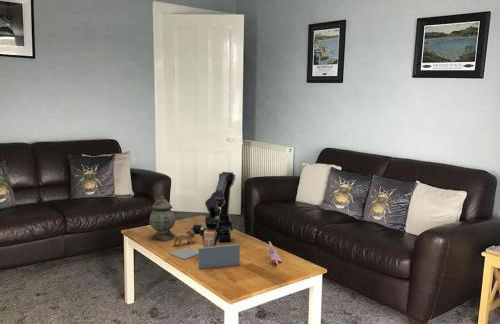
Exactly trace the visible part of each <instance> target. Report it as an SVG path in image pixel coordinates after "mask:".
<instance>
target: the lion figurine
mask: <svg viewBox="0 0 500 324" xmlns="http://www.w3.org/2000/svg"><path fill="white" fill-rule="evenodd" d="M175 236H176V237H175V239H174V242H173V245H172V246H173V247H175V246H177V244H176V243H177V242H178V245H179V246H180V247H184V245H183V244H182V240H183V241H186V243H187V244H190V245H193V242H192V241H193V239H194V238H195V236H196V234H194V232H193V226H190V227H189V229H188V230H187V231H186V233H182V232H181V233H180V232H179V233H177V234H175Z"/></svg>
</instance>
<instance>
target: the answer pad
mask: <svg viewBox="0 0 500 324" xmlns="http://www.w3.org/2000/svg"><path fill="white" fill-rule="evenodd" d="M168 255H170V256H172V257H174V258H175V257H176V258H178V259H181V260H184V261H185V260H188V259H191V258H194V257H196V256H199V250H195V249H192V248H189V247H184V248H180V249H177V250H175V251H172V252H169V253H168Z"/></svg>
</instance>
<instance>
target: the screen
mask: <svg viewBox="0 0 500 324" xmlns="http://www.w3.org/2000/svg"><path fill="white" fill-rule="evenodd" d="M240 247H241V246H240V244H239V243H238V244H237V243H236V244H225V245H216V246H213V247H204V246H202V247H198V251H199V255H198V270H200V269H201V270H202V269H210V268H218V267H219V268H220V267H229V266H231V267H232V266H239V265H240V260H241V259H240V257H241V256H240V255H241V254H240V249H241V248H240Z"/></svg>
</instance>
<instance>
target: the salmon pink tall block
mask: <svg viewBox="0 0 500 324" xmlns="http://www.w3.org/2000/svg"><path fill="white" fill-rule="evenodd" d="M216 234H217V232H216V230H207V229H206V230H205V232H204V245H203V247H213V246H214V242H215V238H216Z"/></svg>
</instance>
